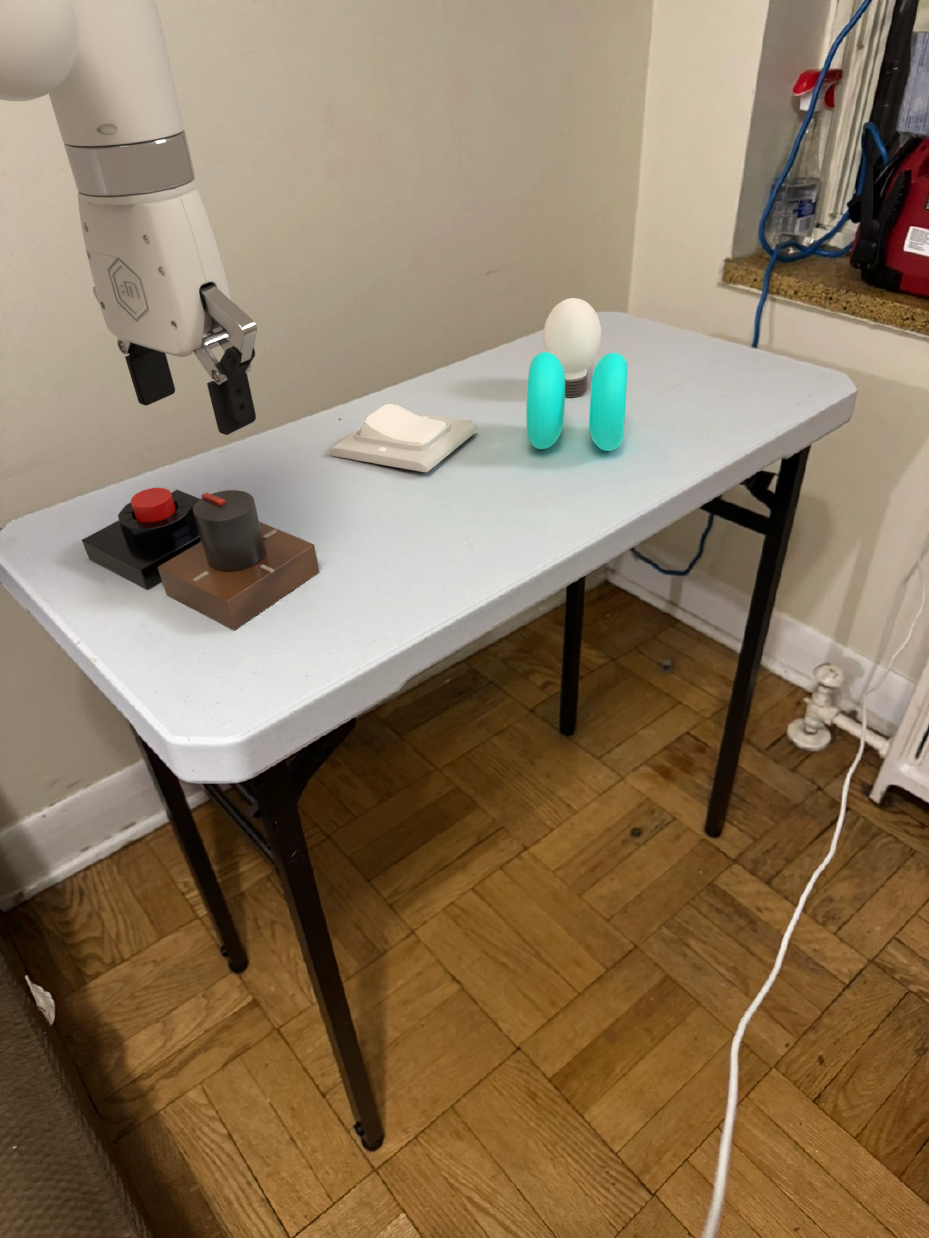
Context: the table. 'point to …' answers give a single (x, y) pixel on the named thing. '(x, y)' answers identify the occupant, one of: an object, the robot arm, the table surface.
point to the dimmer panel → (240, 578)
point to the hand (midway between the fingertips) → (196, 412)
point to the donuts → (550, 401)
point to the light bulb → (573, 341)
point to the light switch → (404, 439)
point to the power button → (153, 505)
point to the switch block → (144, 541)
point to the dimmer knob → (229, 530)
